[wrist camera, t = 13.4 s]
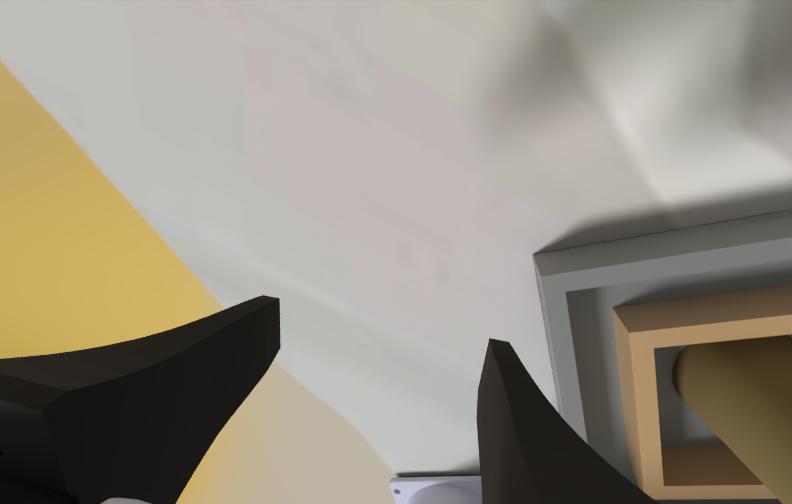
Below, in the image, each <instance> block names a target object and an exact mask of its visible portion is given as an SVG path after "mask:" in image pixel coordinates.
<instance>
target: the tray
mask: <svg viewBox="0 0 792 504" xmlns="http://www.w3.org/2000/svg"><path fill="white" fill-rule="evenodd" d="M533 260H534V266H535V272H536V278H537V284H538V290H539V296H540V302H541V308H542V314H543V319H544V325H545V331H546V337H547V343H548V349H549V355H550V361H551V367H552V373H553V379H554V384H555V390H556V396H557V402H558V408H559V414H560V416H561V417H562V418H563V419H564V420H565V421H566V422H567V423H568V424H569V425H570V426H571V427H572V429H573V430H574V431H575V432H576V433H577V434H578V435H579V436H580V437H581V438H582V439H583V440H584V441H585V442H586V443H587V444H588V445H589V446H590V447H591V448H592V449H594V450H595V451H596V452H597V453H598V454H599V455H600V456H601V457H602V458H603V459H604V460H606V461H607V462H608V463H609V464H610V465H611V466H612V467H614V468H615V469H616V470H617V471H618V472H620V473H621V474H622V475H623V476H624V477H626V478H627V479H628V480H629V481H631V482H632V483H633V484H634V485H636V486H637V487H638V488H640V489H641V490H642V491H643V492H645V493H646V494H647V495H649V496H650V497H651V498H653V499H654V500H656V501H657V502H658V503H660V504H782V503H781V502H780V501H779V499H778V498H777V497H776V496H775V495H774V494H773V493H772V492H771V491H770V490H769V489H768V488H767V487H766V486H765V485H764V484H763V483H762V482H761V481H760V480H759V479H758V478H757V477H756V476H755V474H754V473H753V472H752V471H751V470H750V469H749V468H748V467H747V466H746V465H745V464H744V463H743V462H742V461H741V460H740V459H739V458H738V457H737V456H736V455H735V454H734V453H733V452H732V450H731V449H730V448H729V447H728V446H727V445H726V444H725V443H724V442H723V441H722V440H721V439H720V438H719V437H718V436H717V435H716V434H715V433H714V432H713V431H712V430H711V429H710V428H709V427H708V425H707V424H706V423H705V422H704V421H703V420H702V419H701V418H700V417H699V416H698V415H697V414H696V413H695V412H694V411H693V410H692V409H691V408H690V407H689V406H688V405H687V404H686V403H685V401H684V400H683V399H682V398H681V397H680V396H679V395H678V394H677V392H676V390H675V387H674V385H673V383H672V367H673V364H674V362H675V360H676V358H677V355H678V353H679V352H680V351H681V350H682V349H683V348H684V347H685V346H686V345H690V344H700V343H709V342H719V341H729V340H739V339H749V338H759V337H769V336H779V335H789V336H790V337H791V338H792V210H788V211H783V212H777V213H771V214H765V215H759V216H754V217H748V218H742V219H736V220H731V221H725V222H719V223H713V224H707V225H702V226H696V227H690V228H684V229H678V230H673V231H667V232H661V233H655V234H649V235H644V236H638V237H632V238H626V239H620V240H615V241H609V242H603V243H597V244H592V245H586V246H580V247H574V248H568V249H563V250H557V251H551V252H545V253H539V254H534V255H533Z"/></svg>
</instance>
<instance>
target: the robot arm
mask: <svg viewBox="0 0 792 504" xmlns="http://www.w3.org/2000/svg"><path fill="white" fill-rule="evenodd" d="M279 349H280V302H279V298H274V297H269V296H264V295H263V296H259V297H256V298H253V299H251V300H248V301H245V302H243V303H240V304H238V305H235V306H233V307H230V308H228V309H225V310H223V311H220V312H218V313H215V314H213V315H210V316H208V317H205V318H202V319H199V320H196V321H194V322H191V323H188V324H186V325H182V326H180V327H177V328H174V329H171V330H167V331H164V332H161V333H157V334H153V335H150V336H146V337H142V338H139V339H135V340H130V341H125V342H120V343H116V344H112V345H107V346H102V347H97V348H90V349H84V350H78V351H72V352H64V353H58V354H49V355H40V356H28V357H17V358H8V359H7V358H6V359H0V504H176V502H177V500H178V498H179V497H180V495H181V493H182V491H183V490H184V488H185V486H186V485H187V483H188V481H189V480H190V478H191V476H192V475H193V473H194V471H195V470H196V468H197V467H198V465H199V463H200V462H201V460H202V458H203V457H204V455H205V454H206V452H207V451H208V449H209V447H210V446H211V444H212V443H213V441H214V440H215V438H216V436H217V435H218V434H219V432H220V431H221V430H222V428H223V427H224V425H225V424H226V423H227V421H228V420H229V419H230V418H231V416H232V415H233V414H234V413H235V411H236V410H237V409H238V408H239V406H240V405H241V404H242V403H243V401H244V400H245V399H246V398H247V396H248V395H249V394H250V392H251V391H252V390H253V389H254V387H255V386H256V385H257V383H258V382H259V381H260V380H261V378H262V377H263V376H264V374H265V373H266V372H267V370H268V368H269V367H270V365H271V363H272V362H273V360H274V358H275V357H276V355H277V353H278V351H279ZM477 430H478V444H479V458H480V471H481V476H446V477H405V478H392V479H391V480H390V483H389V487H390V489H391V492H392V495H393V498H394V500H395V503H396V504H660V503H658V502H657V501H656V500H654V499H653V498H651V497H650V496H649V495H647V494H646V493H645V492H643V491H642V490H641V489H640V488H638V487H637V486H636V485H634V484H633V483H632V482H631V481H629V480H628V479H627V478H626V477H624V476H623V475H622V474H621V473H620V472H618V471H617V470H616V469H615V468H614V467H612V466H611V465H610V464H609V463H608V462H607V461H606V460H604V459H603V458H602V457H601V456H600V455H599V454H598V453H597V452H596V451H595V450H594V449H592V448H591V447H590V446H589V445H588V444H587V443H586V442H585V441H584V440H583V439H582V438H581V437H580V436H579V435H578V434H577V433H576V432H575V431H574V430H573V429H572V427H571V426H570V425H569V424H568V423H567V422H566V421H565V420H564V419H563V418H562V417H561V416H560V414H559V413H558V412H557V411H556V410H555V408H554V407H553V406H552V405H551V403H550V402H549V401H548V400H547V398H546V397H545V396H544V395H543V393H542V392H541V390H540V389H539V388H538V386H537V385H536V383H535V382H534V380H533V379H532V378H531V376H530V375H529V373H528V372H527V370H526V368H525V367H524V365H523V364H522V362H521V361H520V359H519V357H518V356H517V354H516V352H515V351H514V349H513V347H512V346H511V344H510V343H509V342H506V341H501V340H495V339H490V338H489V343H488V347H487V352H486V356H485V361H484V365H483V370H482V374H481V379H480V383H479V388H478V402H477Z"/></svg>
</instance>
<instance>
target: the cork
mask: <svg viewBox="0 0 792 504" xmlns="http://www.w3.org/2000/svg"><path fill="white" fill-rule="evenodd" d="M672 383H673V385H674V387H675V390H676V392H677V394H678V395H679V396H680V397H681V398H682V399H683V400H684V401H685V403H686V404H687V405H688V406H689V407H690V408H691V409H692V410H693V411H694V412H695V413H696V414H697V415H698V416H699V417H700V418H701V419H702V420H703V421H704V422H705V423H706V424H707V425H708V427H709V428H710V429H711V430H712V431H713V432H714V433H715V434H716V435H717V436H718V437H719V438H720V439H721V440H722V441H723V442H724V443H725V444H726V445H727V446H728V447H729V448H730V449H731V450H732V452H733V453H734V454H735V455H736V456H737V457H738V458H739V459H740V460H741V461H742V462H743V463H744V464H745V465H746V466H747V467H748V468H749V469H750V470H751V471H752V472H753V473H754V474H755V476H756V477H757V478H758V479H759V480H760V481H761V482H762V483H763V484H764V485H765V486H766V487H767V488H768V489H769V490H770V491H771V492H772V493H773V494H774V495H775V496H776V497H777V498H778V499H779V501H780V502H781V503H782V504H792V338H791V337H790V336H789V335H779V336H769V337H759V338H749V339H739V340H729V341H719V342H709V343H700V344H690V345H686V346H685V347H684V348H683V349H682V350H681V351H680V352H679V353H678V355H677V358H676V360H675V362H674V364H673V367H672Z"/></svg>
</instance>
